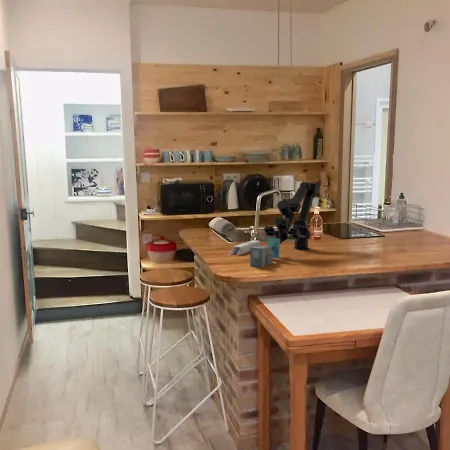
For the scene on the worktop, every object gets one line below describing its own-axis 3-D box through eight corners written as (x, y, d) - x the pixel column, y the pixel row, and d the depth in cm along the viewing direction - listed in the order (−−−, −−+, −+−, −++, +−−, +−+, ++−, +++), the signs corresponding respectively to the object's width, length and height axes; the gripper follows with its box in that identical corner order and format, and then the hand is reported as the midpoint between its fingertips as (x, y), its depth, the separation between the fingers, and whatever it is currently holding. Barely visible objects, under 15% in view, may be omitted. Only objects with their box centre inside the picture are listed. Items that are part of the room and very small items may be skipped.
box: (259, 248, 282) (233, 257, 259) (253, 247, 284) (226, 256, 261) (259, 240, 281) (233, 249, 258) (253, 240, 283) (226, 248, 260)
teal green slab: (269, 256, 254) (269, 237, 252) (279, 258, 251) (279, 238, 249) (255, 261, 243) (256, 241, 241) (266, 263, 240) (266, 242, 238)
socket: (254, 264, 242) (254, 246, 241) (265, 265, 239) (265, 247, 237) (250, 265, 239) (250, 247, 237) (261, 267, 235) (261, 248, 234)
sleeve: (262, 261, 249) (262, 245, 247) (273, 262, 245) (273, 246, 244) (256, 263, 244) (256, 247, 242) (267, 265, 240) (267, 248, 239)
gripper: (265, 210, 260) (255, 234, 253) (298, 212, 250) (288, 237, 243) (272, 223, 268) (262, 247, 261) (304, 226, 258) (295, 250, 250)
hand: (276, 245), depth 253 cm, fingers closed
